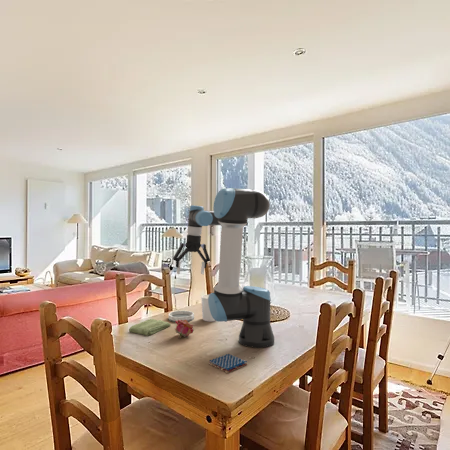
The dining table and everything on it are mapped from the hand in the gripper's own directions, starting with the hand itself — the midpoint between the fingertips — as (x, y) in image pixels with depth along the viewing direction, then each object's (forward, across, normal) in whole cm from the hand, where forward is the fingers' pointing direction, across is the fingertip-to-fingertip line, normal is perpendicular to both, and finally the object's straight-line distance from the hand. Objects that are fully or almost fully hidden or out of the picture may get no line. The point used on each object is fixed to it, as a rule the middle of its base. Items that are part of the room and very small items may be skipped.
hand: (190, 273), depth 178 cm
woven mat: (+19, +4, +64) cm, 67 cm away
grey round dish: (+24, +4, +3) cm, 24 cm away
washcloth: (+24, +22, +13) cm, 35 cm away
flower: (+22, +10, +30) cm, 38 cm away
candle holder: (+22, -10, +9) cm, 26 cm away
